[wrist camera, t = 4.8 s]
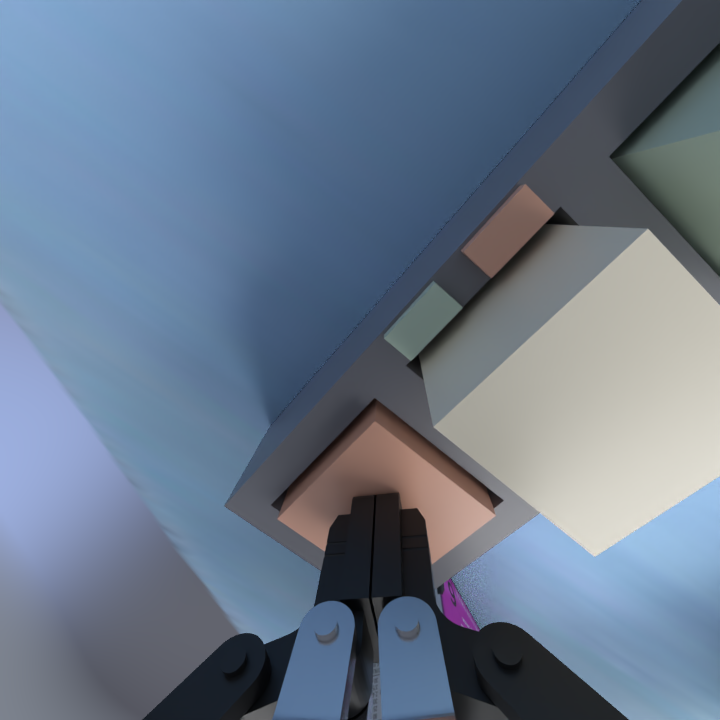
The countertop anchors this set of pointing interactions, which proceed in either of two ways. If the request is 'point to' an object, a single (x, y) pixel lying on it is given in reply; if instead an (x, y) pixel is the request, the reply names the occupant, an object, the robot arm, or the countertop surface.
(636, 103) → the grey long block
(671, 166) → the key sage
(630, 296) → the key sand
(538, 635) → the countertop surface
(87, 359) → the countertop surface
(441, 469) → the key terracotta
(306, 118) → the countertop surface
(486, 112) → the countertop surface
